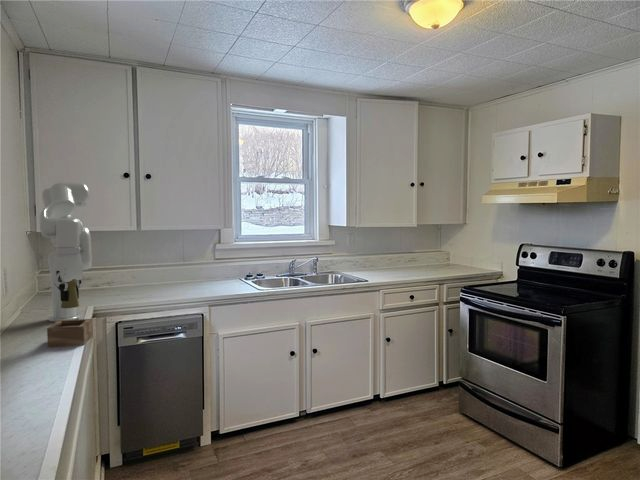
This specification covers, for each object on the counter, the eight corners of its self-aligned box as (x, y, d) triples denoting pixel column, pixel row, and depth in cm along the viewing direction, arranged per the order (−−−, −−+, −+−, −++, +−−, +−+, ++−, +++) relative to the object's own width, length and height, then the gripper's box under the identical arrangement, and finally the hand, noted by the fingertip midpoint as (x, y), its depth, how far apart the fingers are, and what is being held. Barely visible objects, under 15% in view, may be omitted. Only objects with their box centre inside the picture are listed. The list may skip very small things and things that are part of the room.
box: (59, 337, 170) (58, 320, 169) (92, 336, 173) (92, 318, 172) (47, 347, 158) (47, 328, 158) (83, 345, 161) (83, 326, 161)
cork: (82, 304, 168) (81, 276, 167) (74, 308, 162) (73, 279, 161) (66, 304, 168) (65, 276, 167) (57, 308, 162) (56, 279, 161)
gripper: (77, 249, 172) (78, 295, 173) (41, 253, 156) (42, 303, 157) (93, 250, 171) (94, 296, 172) (58, 253, 154) (60, 304, 156)
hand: (69, 299), depth 164 cm, fingers closed on cork, 4 cm apart
